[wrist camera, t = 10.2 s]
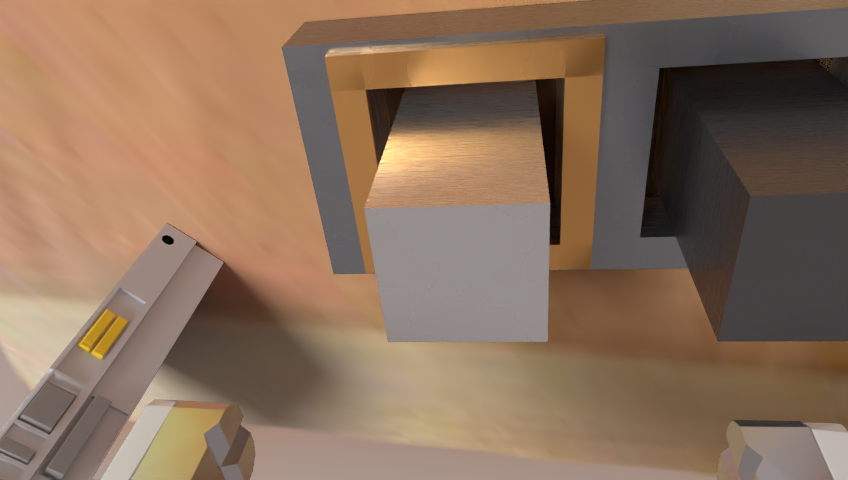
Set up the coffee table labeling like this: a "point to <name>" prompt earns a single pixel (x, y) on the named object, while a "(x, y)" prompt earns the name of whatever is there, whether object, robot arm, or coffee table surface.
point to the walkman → (107, 365)
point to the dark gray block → (759, 195)
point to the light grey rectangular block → (463, 216)
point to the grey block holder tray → (575, 101)
